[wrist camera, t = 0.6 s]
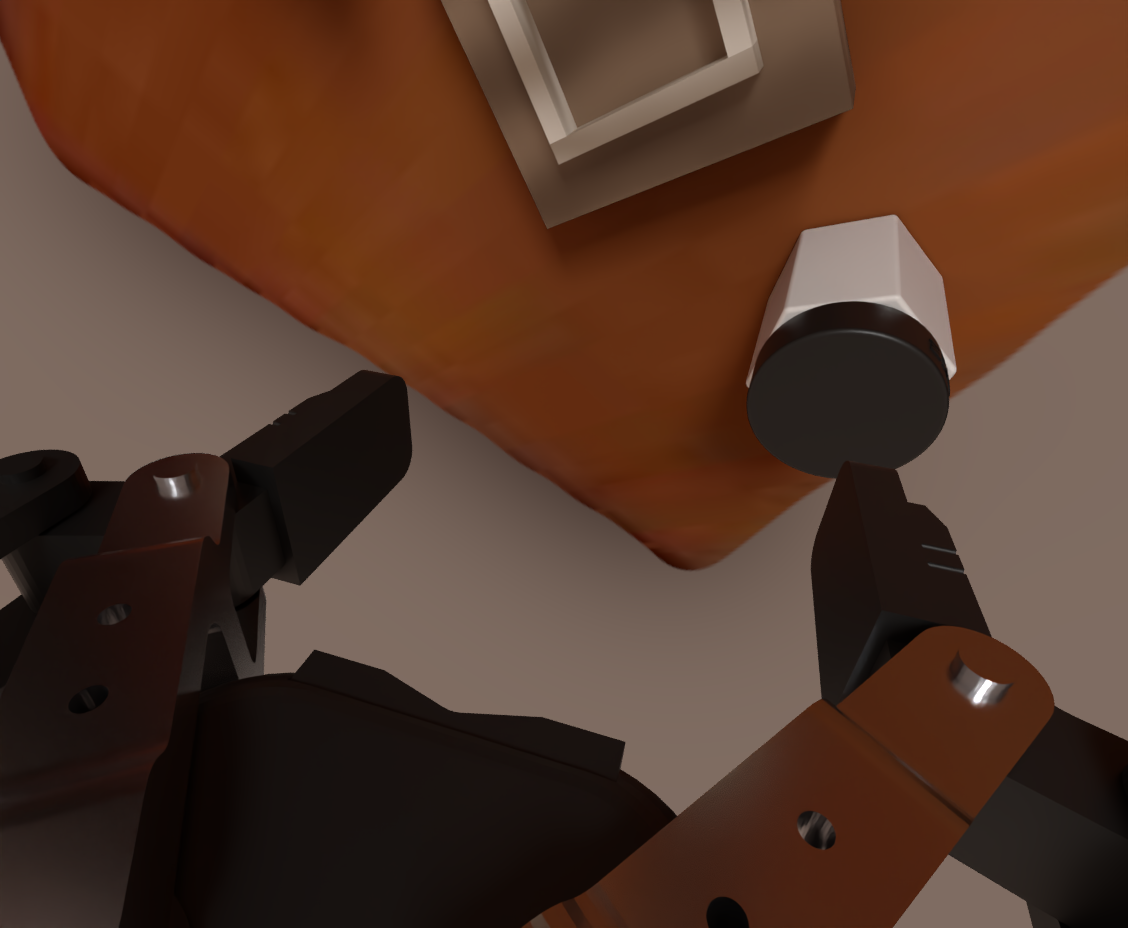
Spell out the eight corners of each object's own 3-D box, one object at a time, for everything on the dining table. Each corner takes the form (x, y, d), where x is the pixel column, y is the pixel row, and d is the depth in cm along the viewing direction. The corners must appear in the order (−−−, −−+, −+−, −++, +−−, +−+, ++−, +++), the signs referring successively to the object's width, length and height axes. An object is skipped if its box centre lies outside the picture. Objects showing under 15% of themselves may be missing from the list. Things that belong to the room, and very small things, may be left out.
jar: (877, 374, 38) (876, 510, 29) (751, 328, 39) (716, 447, 30) (974, 239, 31) (1007, 366, 23) (820, 188, 32) (799, 291, 24)
